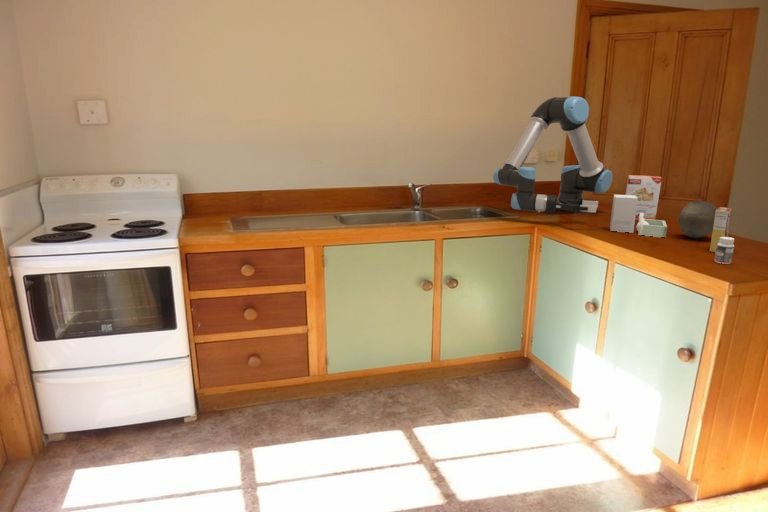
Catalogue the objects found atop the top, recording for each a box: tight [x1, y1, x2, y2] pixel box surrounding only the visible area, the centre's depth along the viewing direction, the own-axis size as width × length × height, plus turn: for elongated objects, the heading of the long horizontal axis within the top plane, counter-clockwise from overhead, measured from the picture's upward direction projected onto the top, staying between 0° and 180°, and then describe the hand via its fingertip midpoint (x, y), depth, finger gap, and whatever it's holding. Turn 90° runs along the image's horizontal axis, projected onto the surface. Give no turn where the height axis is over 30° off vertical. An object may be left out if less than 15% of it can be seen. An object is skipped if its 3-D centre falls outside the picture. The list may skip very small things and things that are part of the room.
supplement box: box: [609, 193, 638, 234], centre depth 216 cm, size 9×9×15 cm
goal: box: [637, 213, 668, 239], centre depth 212 cm, size 16×10×7 cm, turn 155°
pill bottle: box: [714, 236, 735, 265], centre depth 168 cm, size 5×5×8 cm
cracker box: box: [624, 174, 663, 222], centre depth 239 cm, size 14×6×21 cm, turn 68°
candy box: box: [709, 206, 733, 253], centre depth 183 cm, size 9×4×15 cm, turn 140°
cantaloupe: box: [678, 200, 718, 239], centre depth 202 cm, size 14×14×15 cm
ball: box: [635, 221, 649, 233], centre depth 213 cm, size 5×5×5 cm
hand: (597, 206), depth 220 cm, fingers open, 13 cm apart
